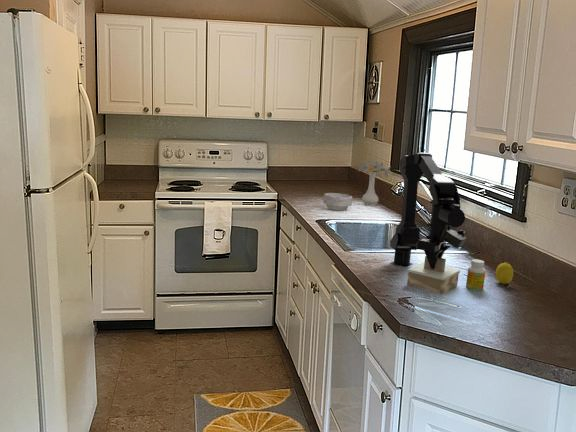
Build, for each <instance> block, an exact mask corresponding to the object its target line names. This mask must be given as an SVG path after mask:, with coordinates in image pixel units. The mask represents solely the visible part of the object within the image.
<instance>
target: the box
mask: <svg viewBox="0 0 576 432" xmlns="http://www.w3.org/2000/svg"><path fill="white" fill-rule="evenodd" d="M459 275H460V273H458V274H456V275H454V276H452V277H450V278H448V279H446V280H440V279H436V278H432V277H428V276H424V275H420V274H416V273H412V272H408V271H407V281H406V283H407V284H406V285H407V286H409V287H414V288H419V289H422V290H425V291H429V292H434V293H436V294H440V295H443V294H445V293H447V292H448V291H451V290H452V289H454V288H456V287H457V286H458V283H459Z"/></svg>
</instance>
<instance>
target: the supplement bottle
mask: <svg viewBox="0 0 576 432" xmlns="http://www.w3.org/2000/svg"><path fill="white" fill-rule="evenodd" d="M485 279H486V269H485V261H484V260H482V259H476V258H475V259H474V258H473V259H471V261H470V266H468V269H467V276H466V281H465V282H466V283H465V288H466V289H468V290H469V291H473V292H474V291H475V292H477V291H478V292H482V291H484V286H485V285H484V284H485Z"/></svg>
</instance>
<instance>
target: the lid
mask: <svg viewBox="0 0 576 432" xmlns="http://www.w3.org/2000/svg"><path fill="white" fill-rule="evenodd" d="M446 259H447V258H443V257H442V258H439V257H437V261H436V265H435V268H434V269H431V268H430V265H429V262H428V259H427V257H426V255H425V257H424V261H423V262H421V263H419V264H417V265H415V266H412V267H410V268H407V273H408V272H412V273H416V274H420V275H424V276H428V277H432V278H436V279H440V280H446V279H448V278H450V277H452V276H454V275H456V274H458V273H459V274H460V273H461V270H459V269H457V268H456V269H455V268H452V267H447V266H446V261H447V260H446Z"/></svg>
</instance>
